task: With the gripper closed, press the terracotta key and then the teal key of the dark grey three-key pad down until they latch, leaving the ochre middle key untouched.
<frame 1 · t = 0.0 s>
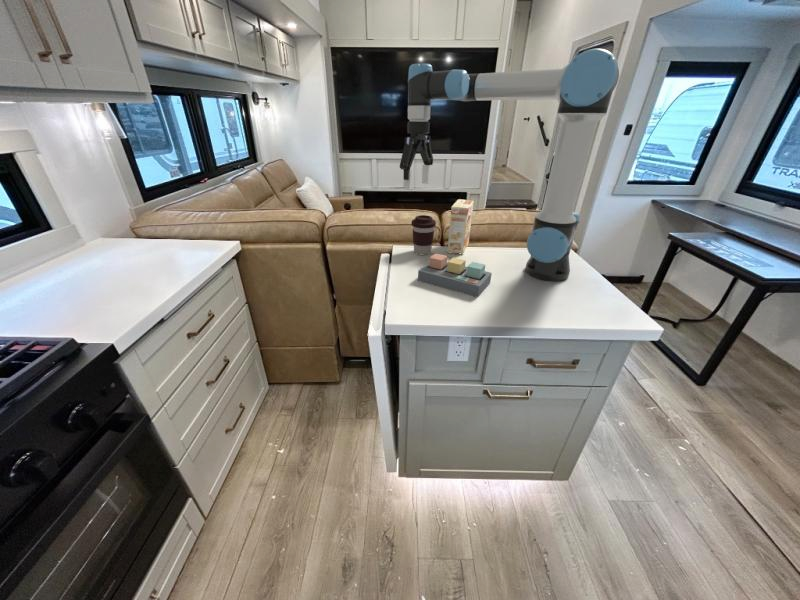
hand: (416, 186, 119), 28 cm above the table, fingers open, 13 cm apart
coffeecake box: (458, 248, 143), on the table
coffee cup: (422, 252, 138), on the table
key mid: (456, 265, 111), point 6 cm above the table, slide at 0.0 cm
key 2: (475, 270, 108), point 6 cm above the table, slide at 0.0 cm
keypad board: (453, 281, 113), on the table
key 1: (438, 261, 115), point 6 cm above the table, slide at 0.0 cm
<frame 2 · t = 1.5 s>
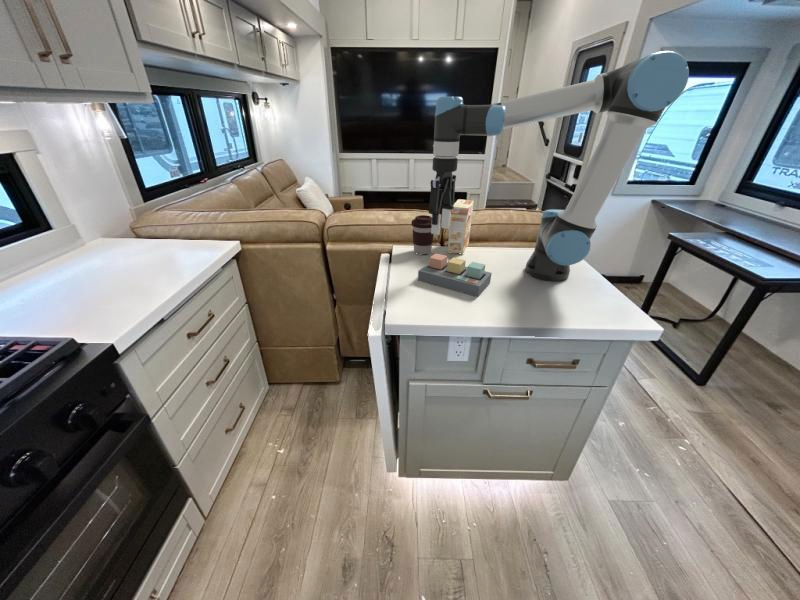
hand: (440, 230, 109), 17 cm above the table, fingers open, 7 cm apart
nothing on the table moved.
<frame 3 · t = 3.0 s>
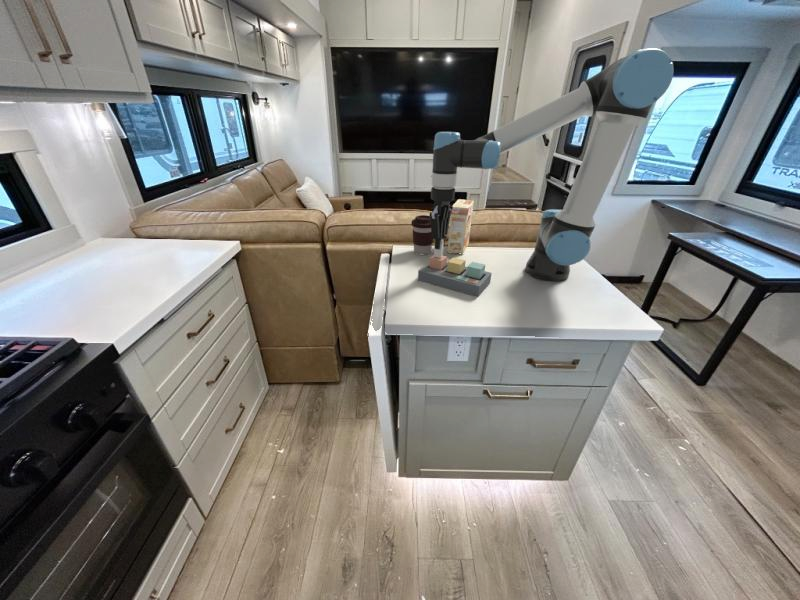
hand: (438, 256, 114), 8 cm above the table, fingers closed
key 1: (438, 261, 115), point 6 cm above the table, slide at 0.2 cm, touching gripper
everything else where it was.
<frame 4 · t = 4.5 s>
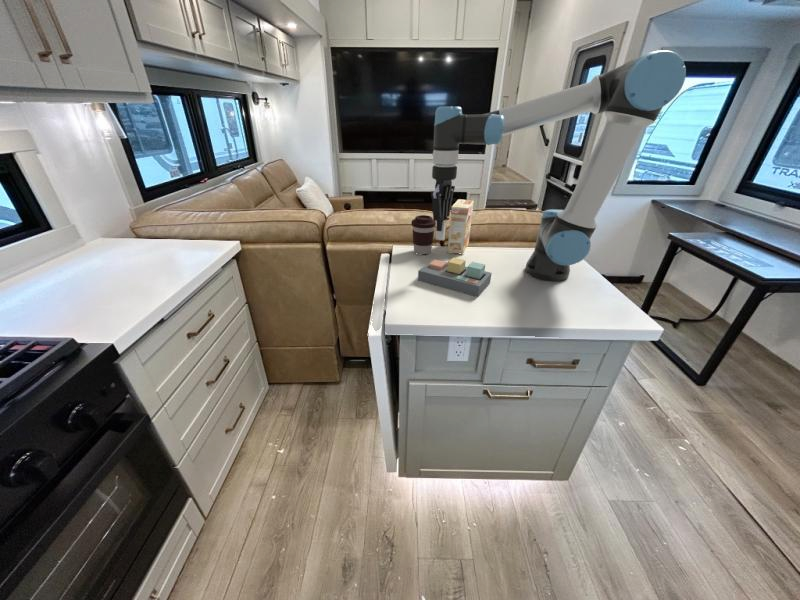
hand: (440, 239, 110), 14 cm above the table, fingers closed
key 1: (437, 267, 116), point 3 cm above the table, slide at 2.4 cm
everything else where it was.
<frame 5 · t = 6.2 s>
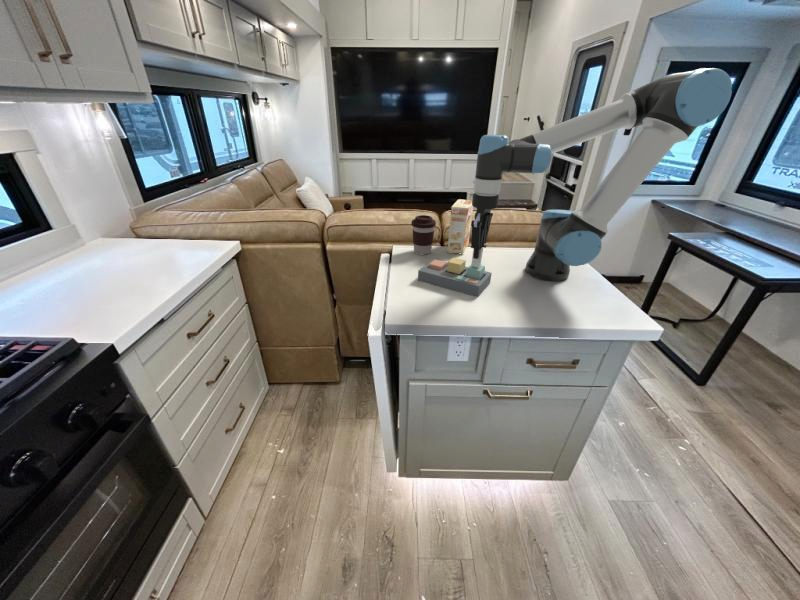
hand: (475, 266, 107), 7 cm above the table, fingers closed
key 2: (475, 271, 108), point 5 cm above the table, slide at 0.6 cm, touching gripper
everything else where it was.
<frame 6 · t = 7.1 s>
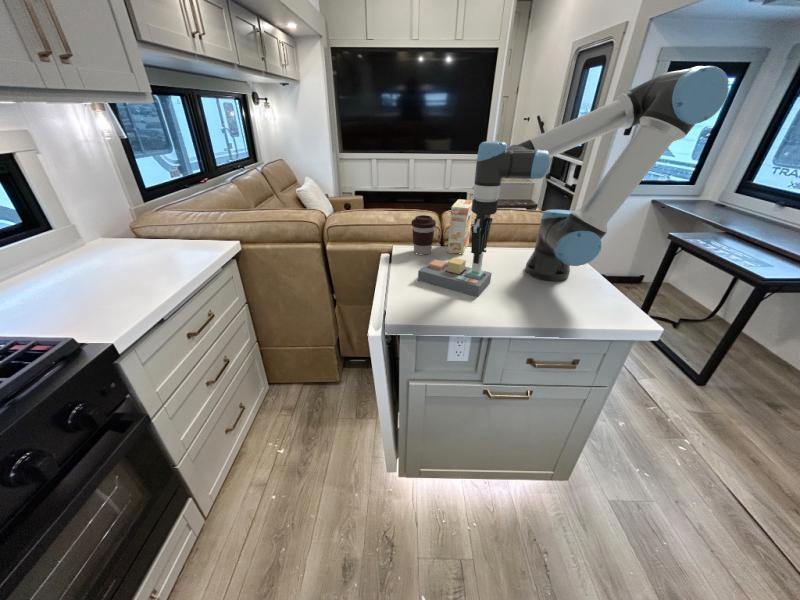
hand: (476, 270, 108), 6 cm above the table, fingers closed
key 2: (474, 276, 109), point 3 cm above the table, slide at 2.4 cm
everything else where it was.
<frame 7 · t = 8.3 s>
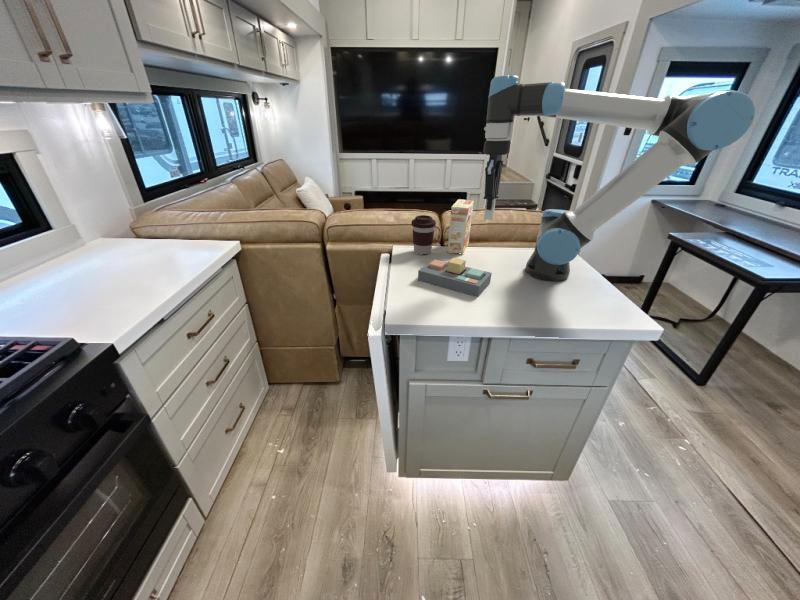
hand: (488, 218, 107), 21 cm above the table, fingers closed
nothing on the table moved.
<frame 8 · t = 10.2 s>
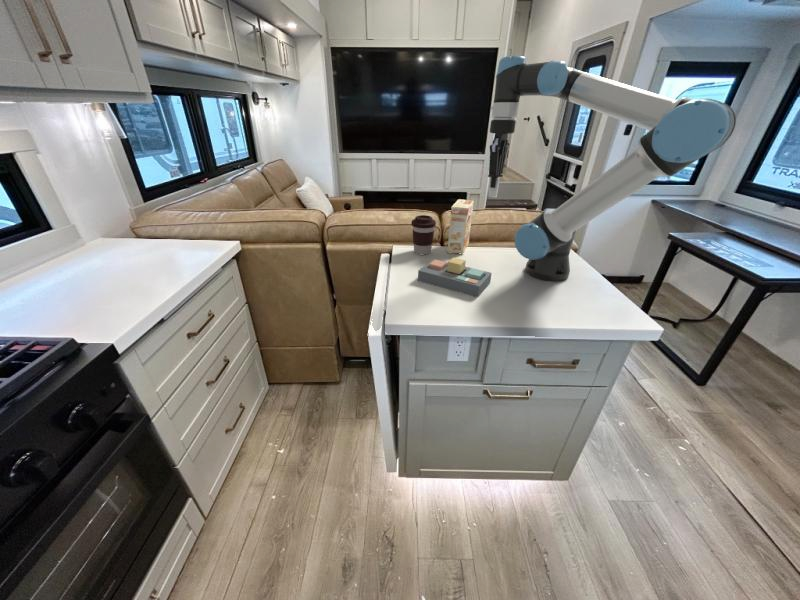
hand: (492, 196, 112), 26 cm above the table, fingers closed
nothing on the table moved.
at the end: key 1 slide at 2.4 cm; key 2 slide at 2.4 cm; key mid slide at 0.0 cm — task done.
